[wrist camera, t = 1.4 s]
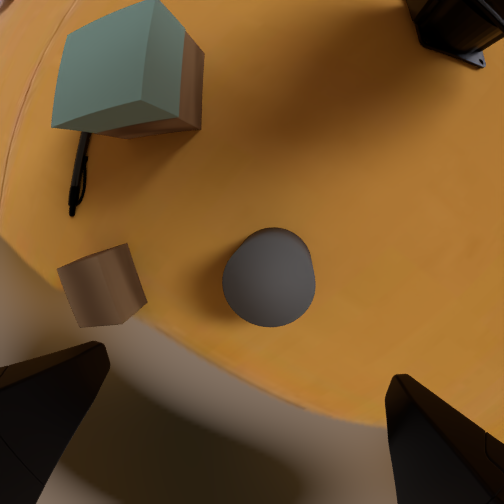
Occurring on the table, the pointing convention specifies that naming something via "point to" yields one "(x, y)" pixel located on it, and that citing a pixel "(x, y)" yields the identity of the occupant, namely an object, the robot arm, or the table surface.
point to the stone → (270, 278)
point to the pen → (79, 173)
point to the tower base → (188, 100)
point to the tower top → (121, 70)
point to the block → (103, 287)
